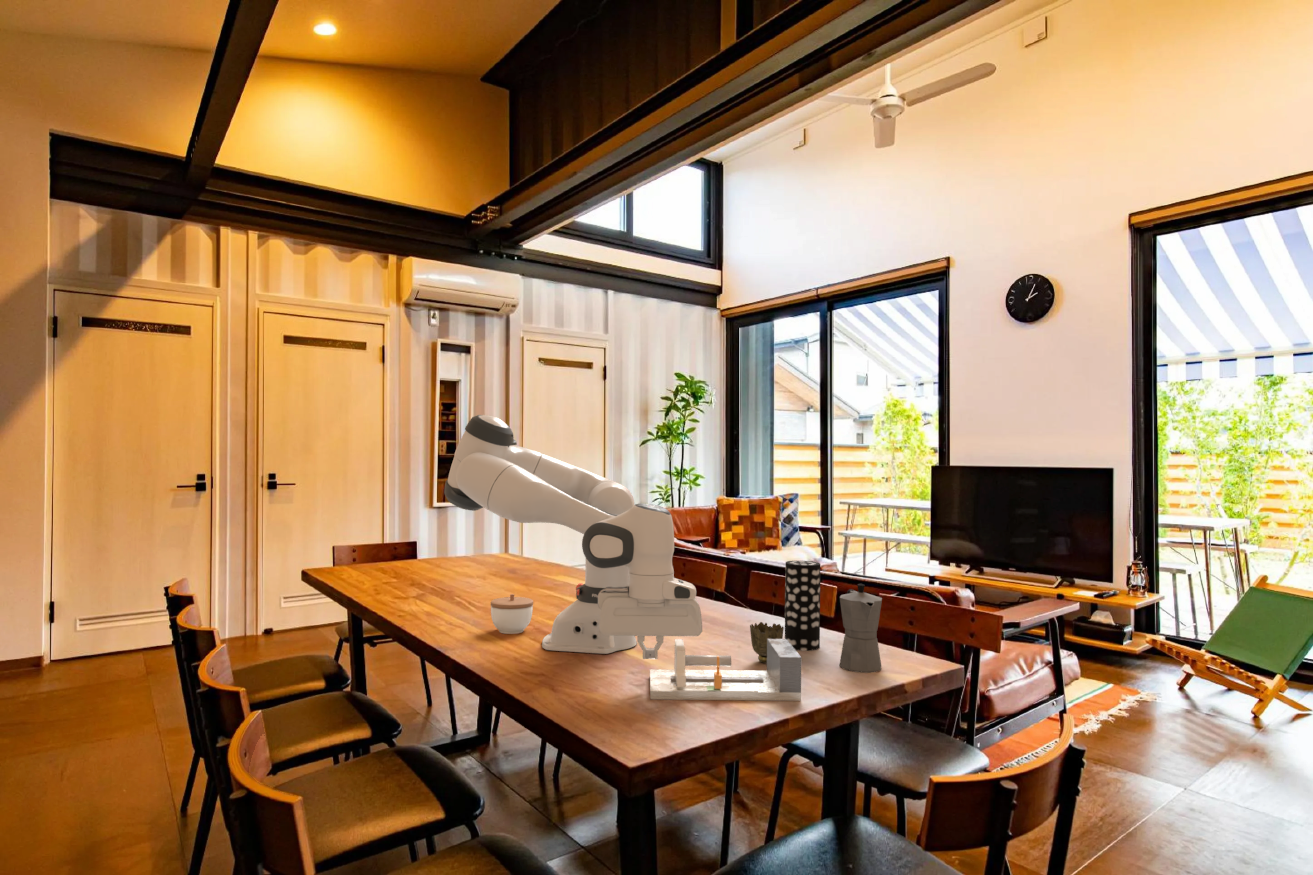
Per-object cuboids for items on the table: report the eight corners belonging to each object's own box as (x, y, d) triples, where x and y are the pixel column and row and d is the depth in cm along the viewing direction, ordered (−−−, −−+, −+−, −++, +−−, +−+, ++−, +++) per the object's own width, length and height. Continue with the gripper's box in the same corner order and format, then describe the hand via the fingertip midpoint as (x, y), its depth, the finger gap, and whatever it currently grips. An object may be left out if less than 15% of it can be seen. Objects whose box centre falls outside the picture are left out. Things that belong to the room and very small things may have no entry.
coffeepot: (892, 675, 152) (893, 589, 153) (848, 675, 152) (849, 589, 153) (868, 656, 168) (868, 577, 168) (827, 655, 167) (828, 577, 168)
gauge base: (650, 699, 135) (651, 655, 135) (649, 676, 149) (650, 637, 149) (800, 700, 136) (801, 657, 136) (786, 678, 150) (786, 638, 150)
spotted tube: (817, 642, 179) (818, 561, 180) (821, 651, 171) (822, 566, 172) (783, 641, 180) (784, 560, 181) (785, 649, 172) (786, 564, 173)
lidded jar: (512, 638, 179) (513, 599, 179) (480, 632, 185) (481, 595, 185) (541, 630, 188) (542, 593, 188) (510, 624, 194) (511, 589, 194)
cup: (787, 660, 163) (787, 624, 164) (778, 668, 157) (778, 630, 157) (755, 655, 166) (755, 620, 167) (745, 663, 160) (745, 626, 160)
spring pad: (677, 686, 135) (677, 654, 135) (674, 669, 147) (674, 639, 147) (735, 687, 135) (735, 655, 136) (727, 669, 147) (728, 639, 147)
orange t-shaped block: (715, 688, 135) (715, 658, 136) (713, 684, 138) (714, 654, 138) (721, 688, 135) (722, 658, 136) (720, 684, 138) (720, 654, 138)
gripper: (597, 589, 139) (595, 662, 139) (703, 590, 140) (702, 663, 140) (598, 583, 146) (597, 653, 145) (700, 584, 146) (699, 654, 146)
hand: (650, 658), depth 142 cm, fingers closed
